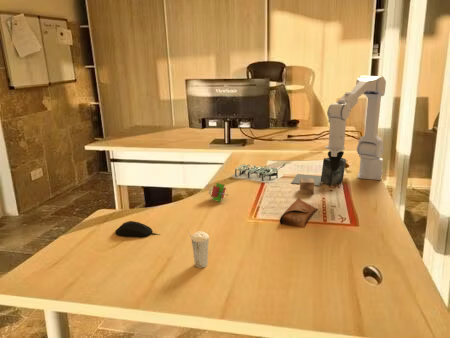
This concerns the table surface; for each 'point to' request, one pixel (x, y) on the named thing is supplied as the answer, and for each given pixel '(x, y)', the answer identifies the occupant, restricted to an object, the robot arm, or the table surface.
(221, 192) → the geometric puzzle
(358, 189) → the table surface
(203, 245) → the milkshake
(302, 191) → the walnut block
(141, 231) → the gaming mouse
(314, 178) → the mat
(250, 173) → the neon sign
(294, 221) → the sunglasses case
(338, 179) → the box
